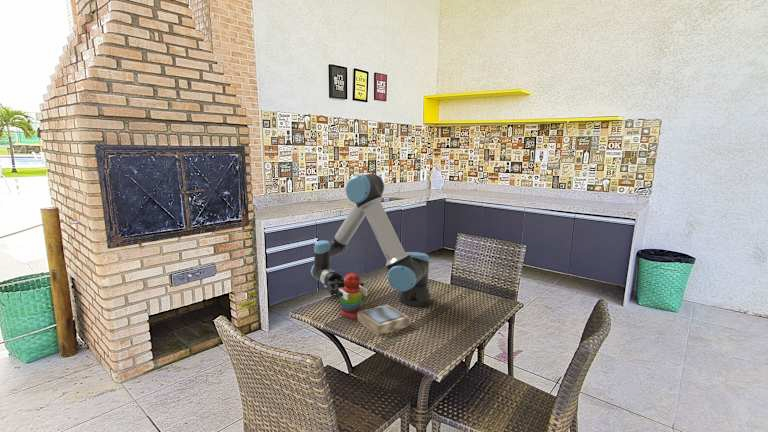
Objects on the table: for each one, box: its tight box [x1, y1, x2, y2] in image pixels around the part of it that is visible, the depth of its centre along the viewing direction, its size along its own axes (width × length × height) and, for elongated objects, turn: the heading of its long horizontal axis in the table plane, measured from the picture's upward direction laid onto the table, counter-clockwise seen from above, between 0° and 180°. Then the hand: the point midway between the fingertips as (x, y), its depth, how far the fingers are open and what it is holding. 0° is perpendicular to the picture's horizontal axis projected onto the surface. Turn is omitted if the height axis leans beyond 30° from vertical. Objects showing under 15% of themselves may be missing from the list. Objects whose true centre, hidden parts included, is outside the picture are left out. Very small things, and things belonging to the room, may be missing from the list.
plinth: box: [356, 304, 410, 337], centre depth 155 cm, size 15×15×4 cm
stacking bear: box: [339, 271, 366, 320], centre depth 162 cm, size 11×10×18 cm
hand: (357, 294), depth 158 cm, fingers closed on stacking bear, 9 cm apart
